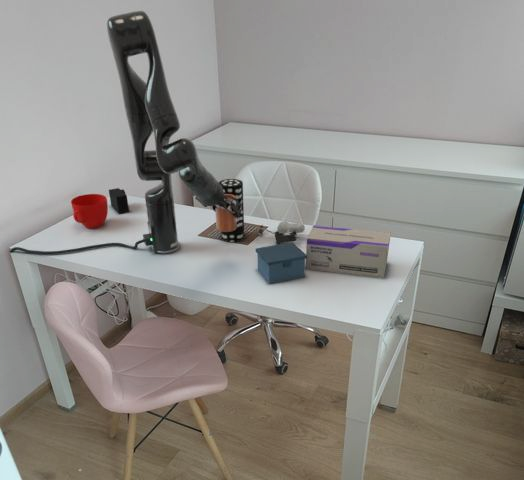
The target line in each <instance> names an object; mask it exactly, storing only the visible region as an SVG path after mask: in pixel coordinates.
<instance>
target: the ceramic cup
mask: <svg viewBox="0 0 524 480" xmlns="http://www.w3.org/2000/svg"><path fill="white" fill-rule="evenodd" d="M70 204H71V208H72V210H73V214H72V216H73V219H74V221H75V222H76V223H78V224H82V225H83V226H84V227H85V228H86V229H97V228H100V227H102V226H103V225H104V224H105V221H106V220H107V217H108V214H109V213H108V212H109V206H108V205H109V204H108V199H107V196H106V195H104V194H100V193H88V194H86V193H85V194H81V195H78V196H76V197H74V198H72V199H71V201H70Z"/></svg>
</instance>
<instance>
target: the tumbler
mask: <svg viewBox="0 0 524 480" xmlns="http://www.w3.org/2000/svg"><path fill="white" fill-rule="evenodd" d="M224 195H225V196H227V197H228V198H229V199H231V200H232V199H233V197H234V198H235V196H234V195H231V194H224ZM226 206H227V204H226ZM226 206H225V207H226ZM230 209H232V207H230ZM215 211H216V212H215ZM215 211H214V212H215V224H216V230H217V231H219V232H231V231H234V230H236V226H237V225H236V218H235V216H234V215H233V214H232V213H231V212H230V211H225V210H223V209H222V208H220V207H217V206H215Z"/></svg>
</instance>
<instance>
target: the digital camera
mask: <svg viewBox="0 0 524 480" xmlns="http://www.w3.org/2000/svg"><path fill="white" fill-rule="evenodd" d="M108 195H109V199H110V200H109V202H110V205H111V207H112V209H114V211H116V212H117V213H118V214H119V215H120V214H121V215H122V214H125V213H129V212H130V208H129V202H128V195H127V194H126V191H125V189H124V188H123V189H120V188H119V187H117V188H111V189H108Z"/></svg>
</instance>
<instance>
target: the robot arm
mask: <svg viewBox="0 0 524 480" xmlns="http://www.w3.org/2000/svg"><path fill="white" fill-rule="evenodd" d="M106 30H107V36H108V40H109V44H110V49H111V51H112V56H113V60H114V63H115V66H116V67H115V68H116V70H117V74H118V78H119V84H120V88H121V93H122V94H121V95H122V100H123V105H124V110H125V116H126V120H127V124H128V127H129V131H130V137H131V141H132V149H133V155H134V163H135V169H136V173H137V176H138V178H139V179H140V180H141V181H144V182H152V181H153V182H157V181H158V182H159V181H161V182H160V183H159V184H158V185H156V186H154V187H152V188H150V189H148V190H147V191H145V193H144V201H145V208H146V215H147V230H148V233H144V234H143V233H142V238H143V239H139V240H138V241H136V242H135V243H134V246H131V245H128V244H125V243H122V242H108V243H107V242H106V243H101V244H95V245H88V246H83V247H78V248H69V249H63V250H54V251H53V250H51V251H48V250H46V251H45V250H31V249H27V248H23V247H19V246H14V247H12V248H11V249H10V250H9V253H13V252H15V251H21V252H24V253H28V254H37V255H59V254H66V253H73V252H80V251H85V250H92V249H96V248H103V247H112V246H114V247H115V246H118V247H123V248H127V249H129V250H130V249H131V250H136V249H138V247H139V245H140V244H142V243H144V245H145V246H146V247H149V246H150V249H151V251H152V252H153V254H171V253H174V252H177V251H178V250H179V249H180V245H179V237H178V229H177V228H178V227H177V218H176V210H175V200H174V193H173V192H174V191H173V183H172V181H173V180H172V175H174V174H176V173H178V175H179V178H180V180H181V181H182V183H184V185H186V187H188V189H189V190H190V192H191V193H192V194H193V195H194V197H195V200H196V201H197V202H198V203H199V204H201V205H202V206H203V207H204V208H209V209H210V210H213V211H214V213H216V211H215V206H217V207H220V208H222V209H223V210H225V211H230V212H231V213H232V214H233V215H234V216H235V218H238V217H239V216H240V213H241V212H240V208H241V205H240V203H239V202H238V200H237V199H236V198H234V197H233V199H232V200H231V199H229V198H228V197H227V196H225V195H224V192H223V188H222V186H221V185H220V184H219V182H220V181H218V180H217V179H216V177H215V176H214V175H213V174H212V173H211V172H210V171H209V170H207V168H206V167H205V166H204V164H202V162H201V159H200V157H199V154H198V150H197V148H196V145H195V144H194V141H192V140H191V139H189V138H186V137H182V138H179V139H176V140H175V141H174V140H173V142H170V139H171V138H172V137H173V135H175V134H176V133H178V131H179V130H180V128H181V123H180V120H179V117H178V114H177V112H176V109H175V106H174V104H173V100H172V98H171V95H170V94H171V93H170V90H169V87H168V82H167V79H166V75H165V69H164V66H163V65H164V64H163V61H162V57H161V52H160V48H159V44H158V41H157V37H156V33H155V30H154V27H153V24H152V21H151V19H150V17H149V15H148V13H146V11H144V10H135V11H131V12H126V13H125V12H124V13H121V14H116V15H113V16H112V15H111V16H110V17H109V18H108V19H107V21H106ZM143 54H146V56H147V60H148V75H147V80H146V81H145V80H143V79H142V78H141V77H140V75H139V74H138V73H137V71H135V69H134V68H133V67H132V66H131V64H130V62H129V58H130V57H135V56H137V55H143ZM152 135H153V136H154V143H155V144H154V145H155V149H153V150H149V149H148V150H146V147H147V143H148V141H149V139H150V138H151V136H152ZM226 204H227V206H226ZM225 206H226V207H225ZM230 207H232V209H230Z"/></svg>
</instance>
